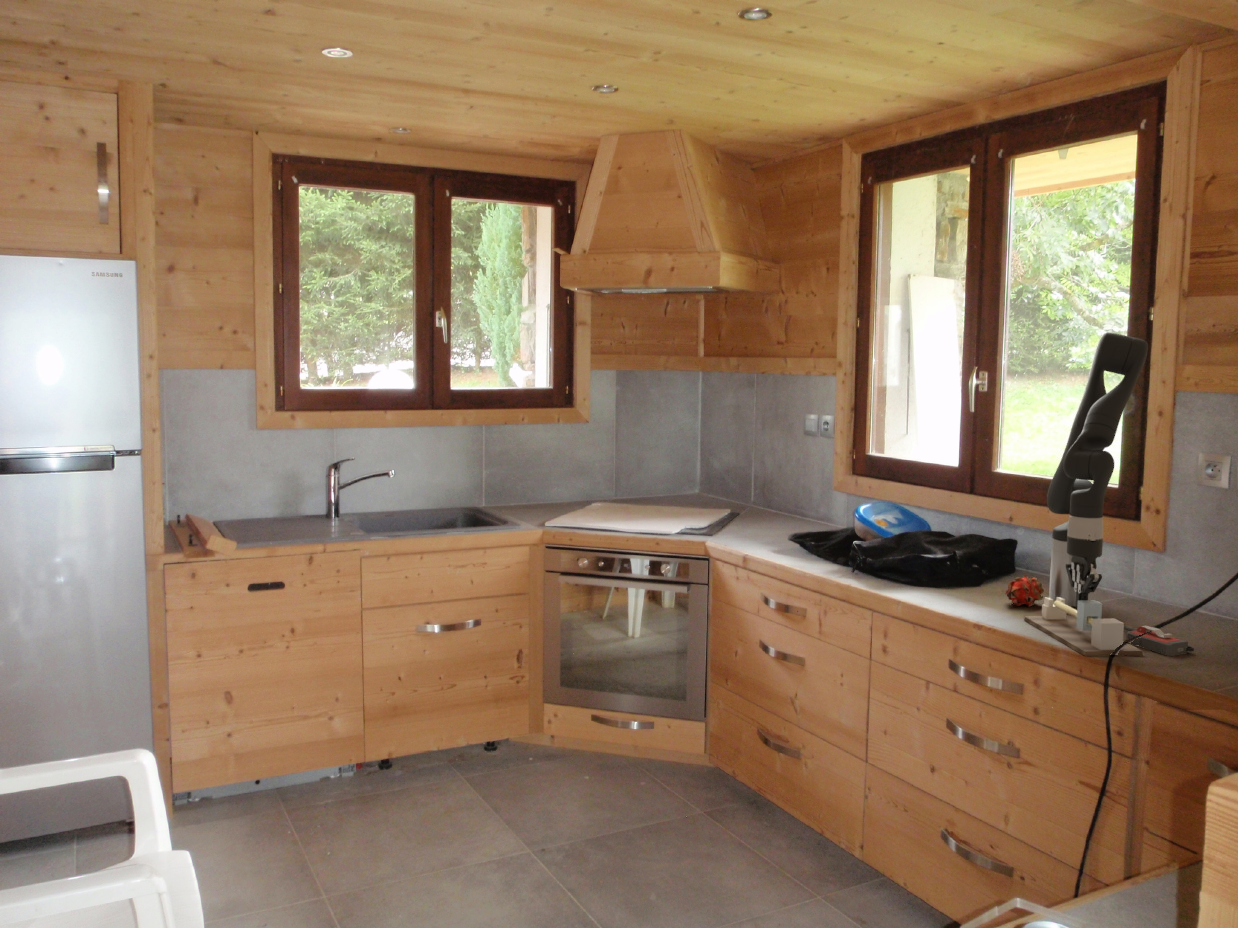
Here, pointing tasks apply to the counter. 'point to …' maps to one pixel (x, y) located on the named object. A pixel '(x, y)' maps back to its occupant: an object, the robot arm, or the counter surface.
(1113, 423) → the robot arm
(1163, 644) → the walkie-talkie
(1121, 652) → the board
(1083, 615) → the sleeve
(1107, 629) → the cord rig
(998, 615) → the counter surface
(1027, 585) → the dragon fruit
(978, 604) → the counter surface
